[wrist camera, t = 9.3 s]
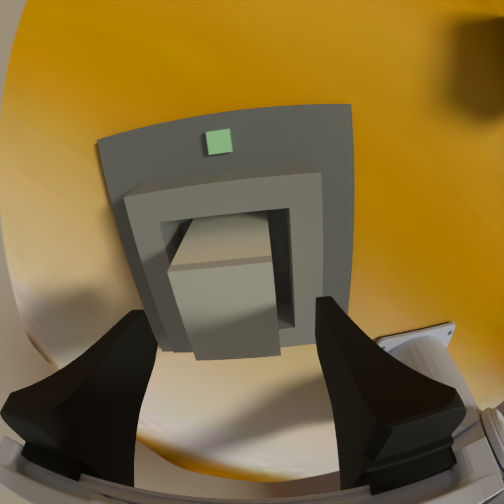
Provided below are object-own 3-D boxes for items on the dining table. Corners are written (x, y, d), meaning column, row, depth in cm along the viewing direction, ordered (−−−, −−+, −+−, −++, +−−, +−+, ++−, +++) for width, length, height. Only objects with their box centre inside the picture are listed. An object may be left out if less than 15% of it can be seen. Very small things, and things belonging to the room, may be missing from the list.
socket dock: (342, 332, 21) (354, 367, 18) (164, 346, 22) (153, 380, 19) (347, 104, 14) (372, 104, 11) (101, 138, 15) (68, 148, 11)
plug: (274, 284, 18) (280, 355, 13) (210, 289, 19) (196, 360, 13) (266, 207, 16) (272, 261, 11) (194, 216, 16) (167, 271, 11)
